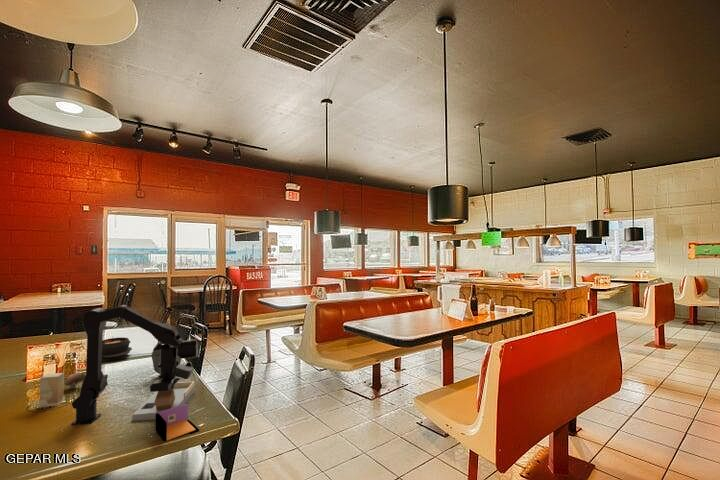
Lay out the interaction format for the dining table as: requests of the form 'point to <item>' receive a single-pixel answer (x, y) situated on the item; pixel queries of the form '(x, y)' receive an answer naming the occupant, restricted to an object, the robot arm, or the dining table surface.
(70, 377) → the mushroom
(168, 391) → the block
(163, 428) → the toy room diorama
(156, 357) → the detergent
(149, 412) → the deck
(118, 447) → the dining table surface
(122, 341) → the casserole
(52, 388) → the skincare box
